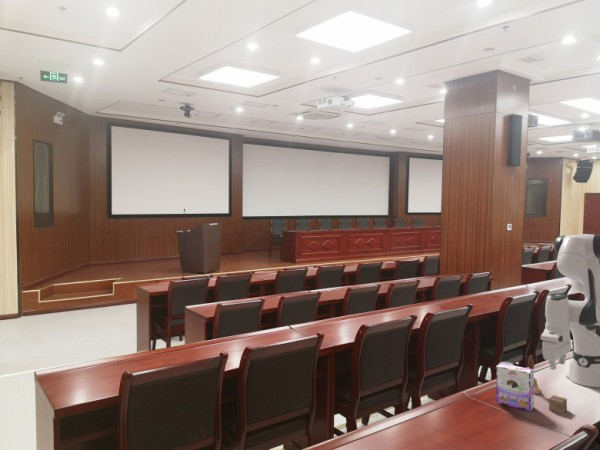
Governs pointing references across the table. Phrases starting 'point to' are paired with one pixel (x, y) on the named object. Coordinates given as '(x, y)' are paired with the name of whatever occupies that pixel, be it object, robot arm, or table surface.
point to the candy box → (515, 386)
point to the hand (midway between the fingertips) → (557, 366)
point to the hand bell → (536, 388)
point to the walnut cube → (558, 404)
